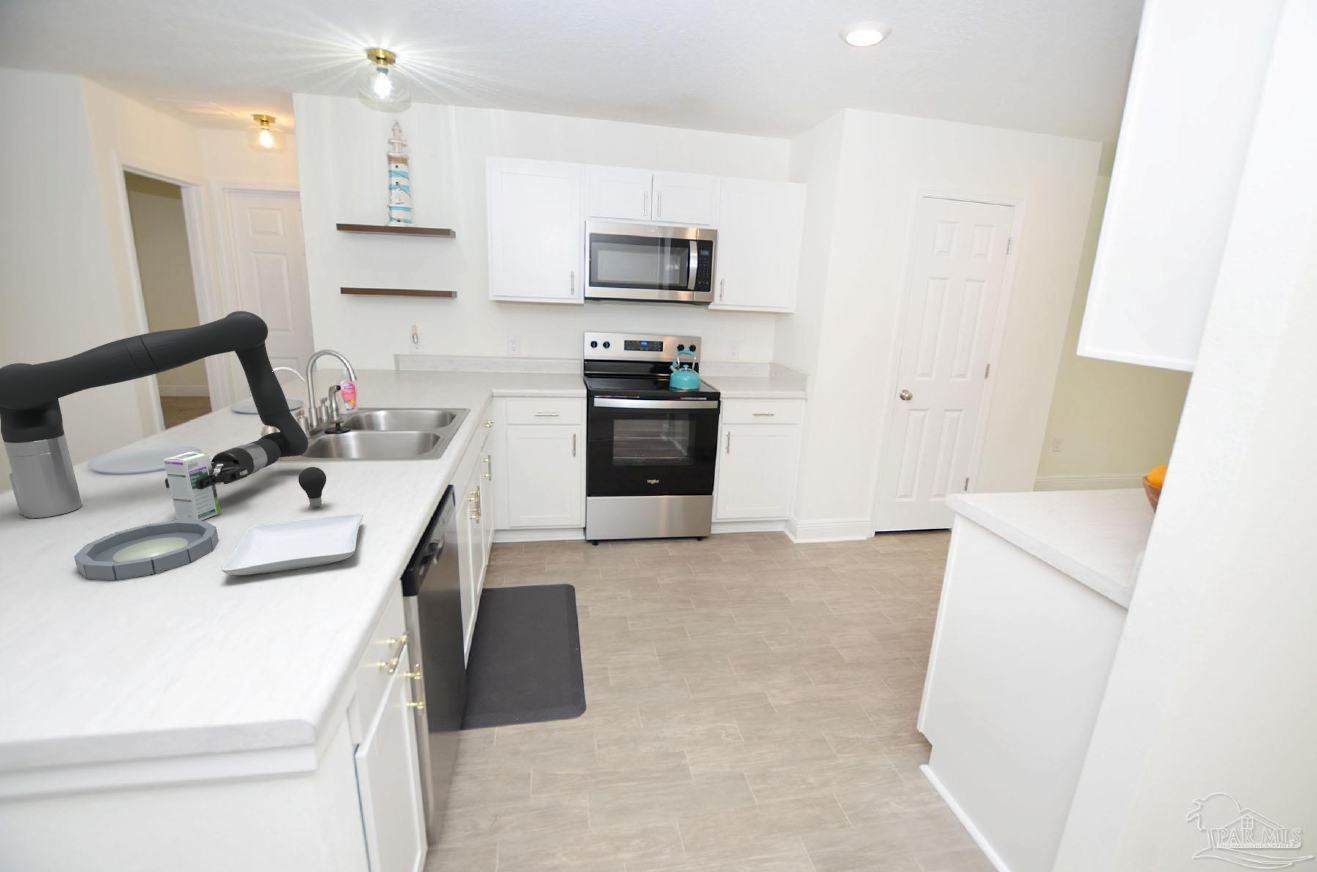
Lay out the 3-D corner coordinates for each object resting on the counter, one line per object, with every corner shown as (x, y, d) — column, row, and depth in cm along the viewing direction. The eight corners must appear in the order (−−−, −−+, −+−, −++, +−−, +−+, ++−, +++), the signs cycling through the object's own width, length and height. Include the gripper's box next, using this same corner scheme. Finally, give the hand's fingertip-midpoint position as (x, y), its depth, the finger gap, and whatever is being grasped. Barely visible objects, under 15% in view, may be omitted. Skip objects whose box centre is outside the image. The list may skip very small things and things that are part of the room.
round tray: (47, 577, 101) (43, 562, 101) (149, 530, 121) (146, 518, 120) (156, 582, 101) (152, 567, 100) (241, 534, 120) (239, 522, 119)
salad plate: (251, 539, 119) (248, 524, 118) (364, 525, 127) (363, 510, 126) (221, 587, 100) (218, 570, 99) (357, 567, 108) (355, 551, 107)
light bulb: (301, 513, 132) (295, 472, 129) (303, 505, 136) (297, 465, 134) (329, 509, 134) (324, 469, 131) (330, 501, 139) (325, 462, 136)
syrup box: (197, 523, 125) (185, 460, 121) (175, 520, 126) (162, 457, 122) (221, 513, 130) (210, 452, 127) (200, 510, 131) (188, 450, 128)
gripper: (209, 446, 139) (147, 466, 123) (266, 448, 139) (211, 469, 123) (214, 475, 141) (153, 499, 125) (271, 477, 141) (217, 502, 124)
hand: (182, 484), depth 124 cm, fingers closed on syrup box, 6 cm apart
